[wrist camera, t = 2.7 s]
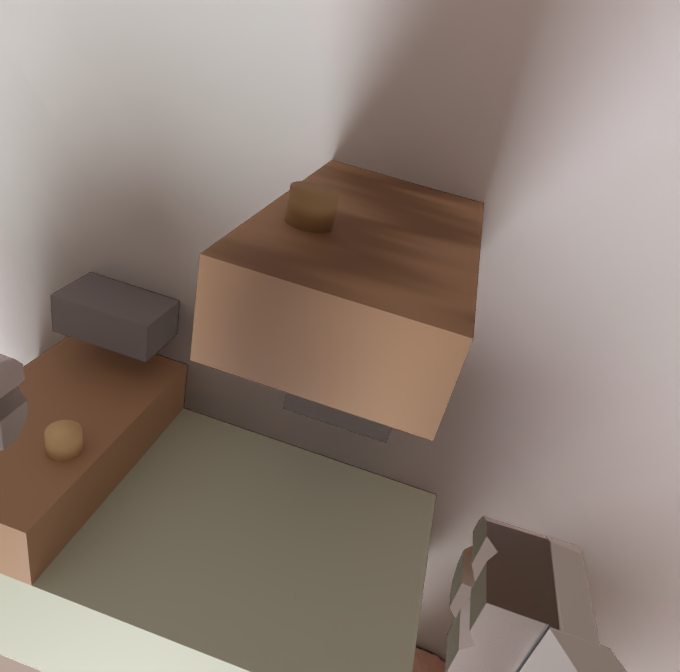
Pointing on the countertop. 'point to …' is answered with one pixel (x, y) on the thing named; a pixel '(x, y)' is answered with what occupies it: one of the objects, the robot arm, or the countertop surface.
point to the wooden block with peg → (347, 296)
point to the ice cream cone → (427, 662)
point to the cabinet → (190, 520)
